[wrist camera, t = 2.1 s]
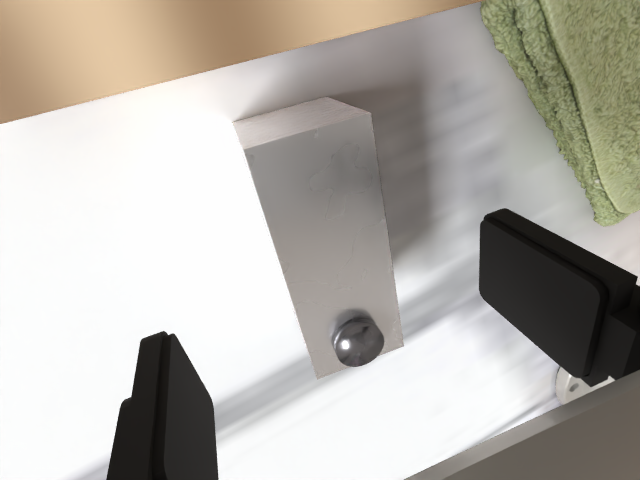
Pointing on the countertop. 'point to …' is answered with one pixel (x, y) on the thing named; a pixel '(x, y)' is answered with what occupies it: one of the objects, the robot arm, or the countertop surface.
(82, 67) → the rail
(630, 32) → the washcloth
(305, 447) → the countertop surface
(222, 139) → the countertop surface
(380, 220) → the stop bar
